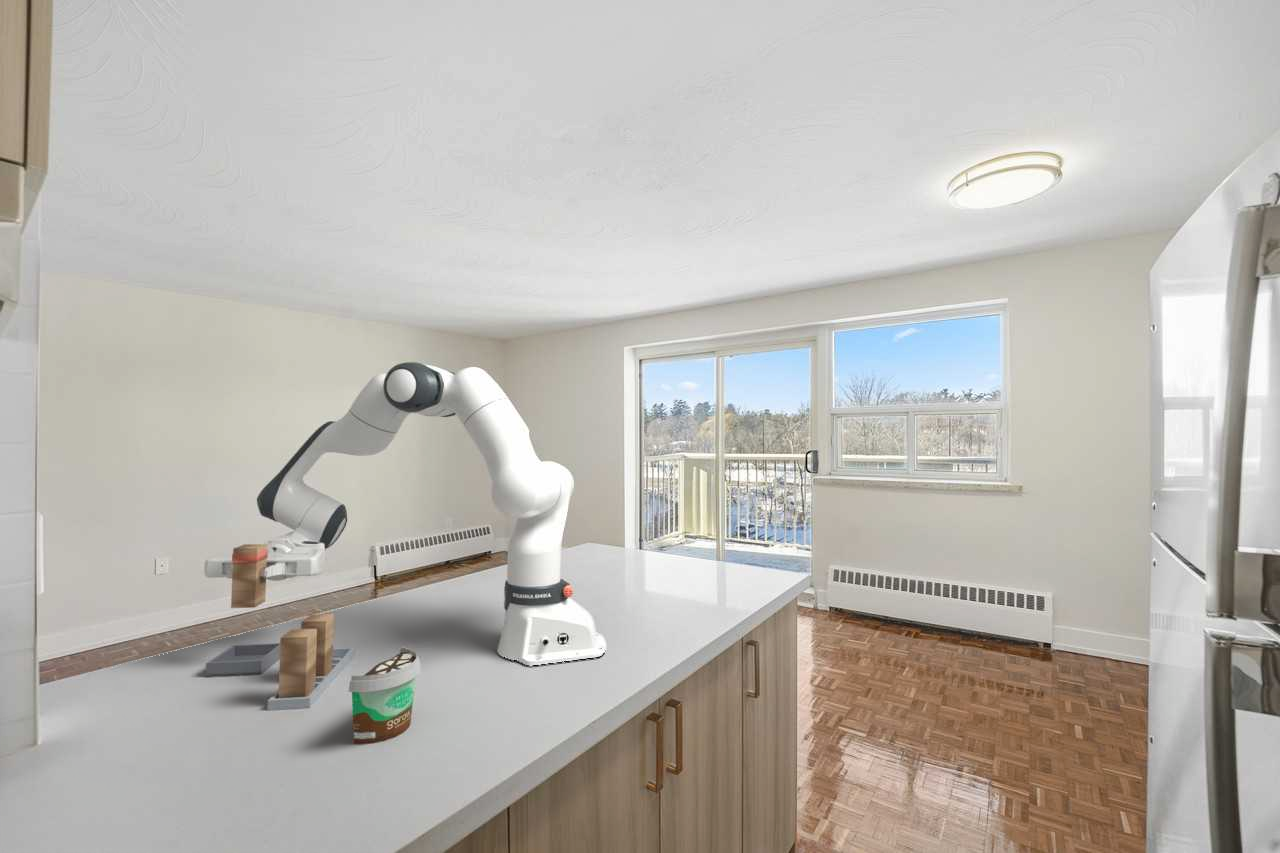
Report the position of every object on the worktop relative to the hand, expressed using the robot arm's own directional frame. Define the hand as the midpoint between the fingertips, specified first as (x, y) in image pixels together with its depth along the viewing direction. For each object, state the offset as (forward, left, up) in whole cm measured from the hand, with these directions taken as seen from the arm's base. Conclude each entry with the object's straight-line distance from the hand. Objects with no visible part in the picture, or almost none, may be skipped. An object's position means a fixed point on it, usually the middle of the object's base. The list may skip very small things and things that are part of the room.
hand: (247, 573), depth 106 cm
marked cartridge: (0, -1, -6) cm, 6 cm away
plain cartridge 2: (-15, +7, -17) cm, 24 cm away
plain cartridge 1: (-15, +15, -17) cm, 28 cm away
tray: (0, -1, -17) cm, 18 cm away
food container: (-33, +27, -18) cm, 46 cm away
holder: (-15, +7, -17) cm, 24 cm away
